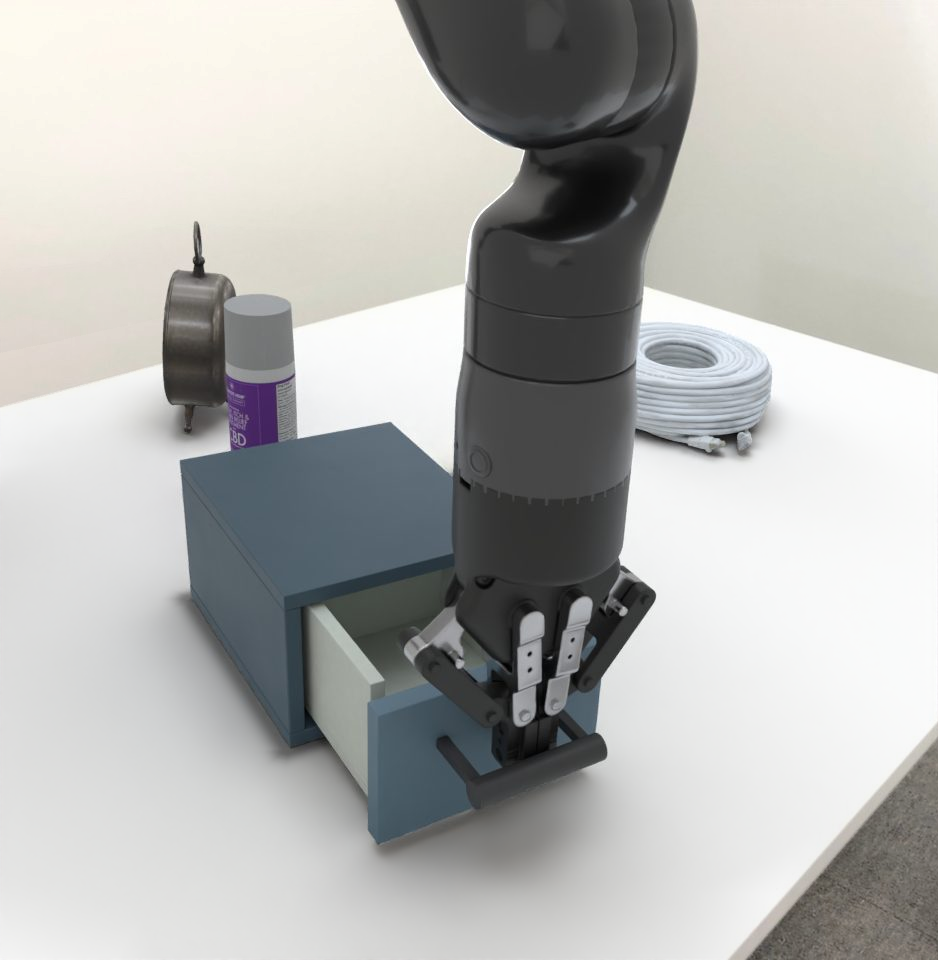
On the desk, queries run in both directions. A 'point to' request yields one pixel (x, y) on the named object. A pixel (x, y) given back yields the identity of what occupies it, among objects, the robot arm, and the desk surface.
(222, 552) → the cabinet
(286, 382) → the container
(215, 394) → the alarm clock
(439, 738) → the drawer
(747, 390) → the cable
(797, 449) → the desk surface
